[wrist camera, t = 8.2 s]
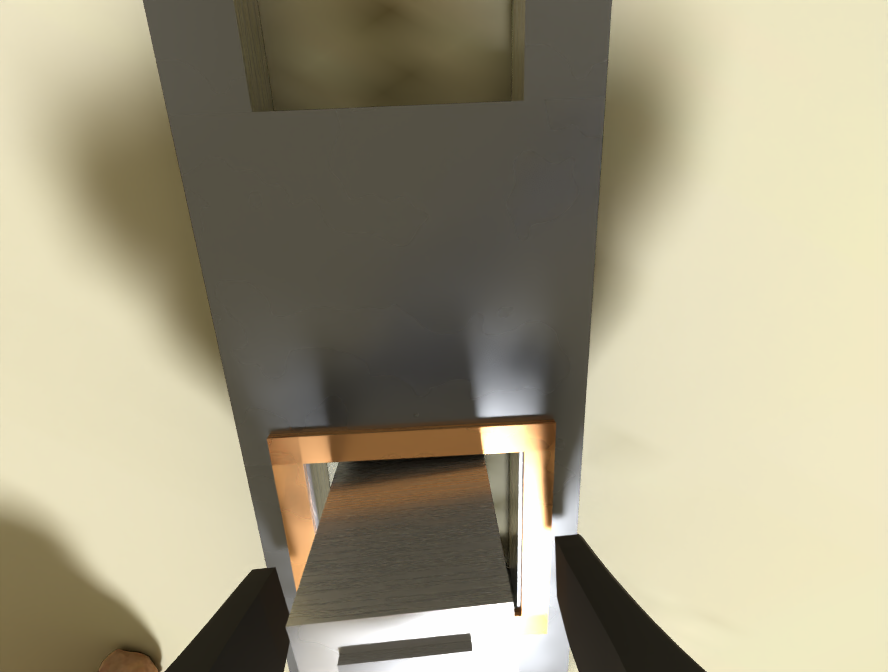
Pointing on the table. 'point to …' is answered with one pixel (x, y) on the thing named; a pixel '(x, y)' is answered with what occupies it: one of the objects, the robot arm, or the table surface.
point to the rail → (399, 276)
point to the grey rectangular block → (406, 573)
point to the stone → (127, 662)
